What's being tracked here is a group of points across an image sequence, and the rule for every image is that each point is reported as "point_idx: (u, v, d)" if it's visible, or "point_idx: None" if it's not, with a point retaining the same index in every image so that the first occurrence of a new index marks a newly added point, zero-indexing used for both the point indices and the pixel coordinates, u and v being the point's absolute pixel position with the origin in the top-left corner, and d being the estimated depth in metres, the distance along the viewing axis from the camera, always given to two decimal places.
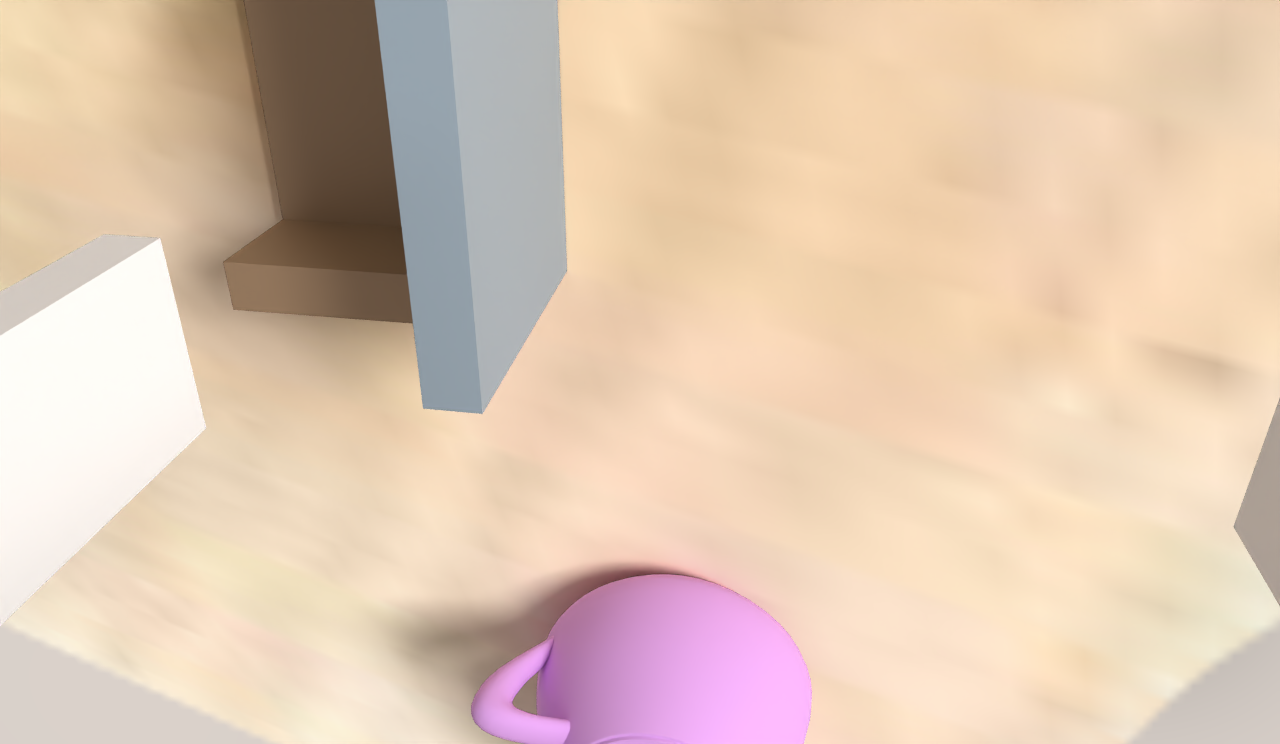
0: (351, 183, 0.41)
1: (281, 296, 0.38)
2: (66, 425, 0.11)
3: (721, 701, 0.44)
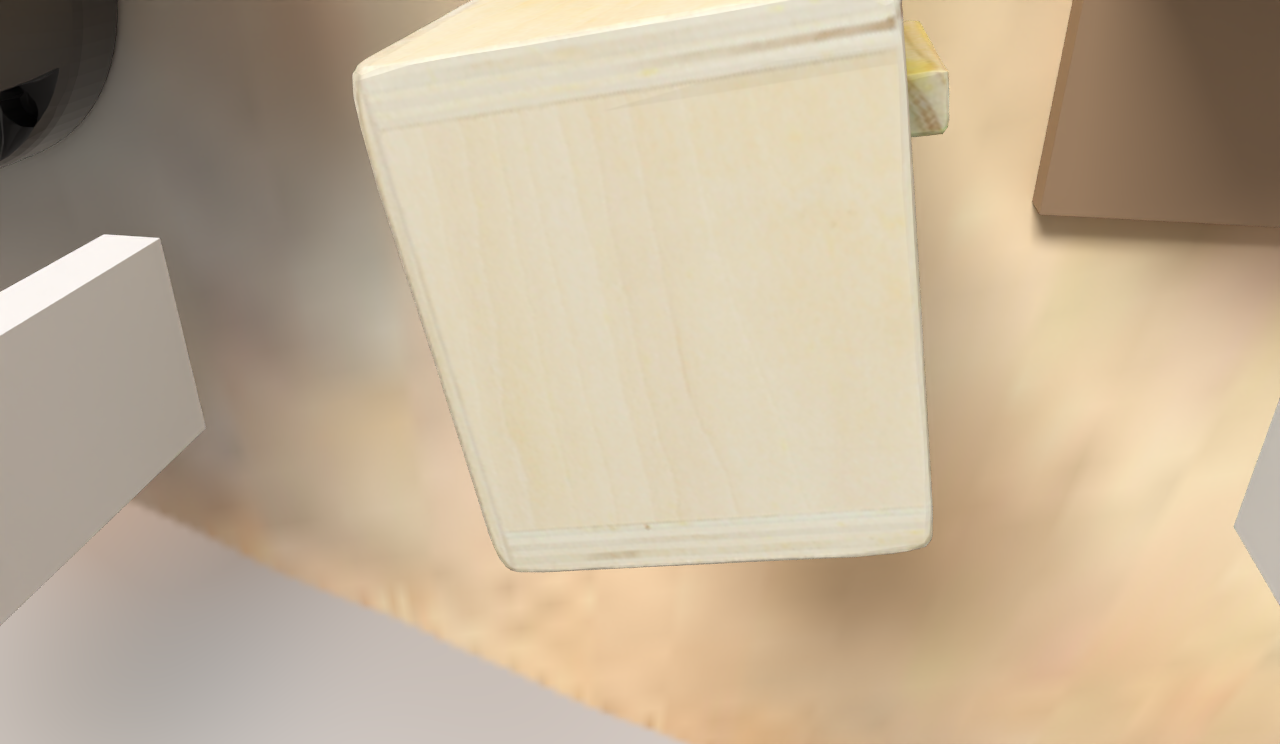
0: None
1: None
2: (66, 425, 0.11)
3: None
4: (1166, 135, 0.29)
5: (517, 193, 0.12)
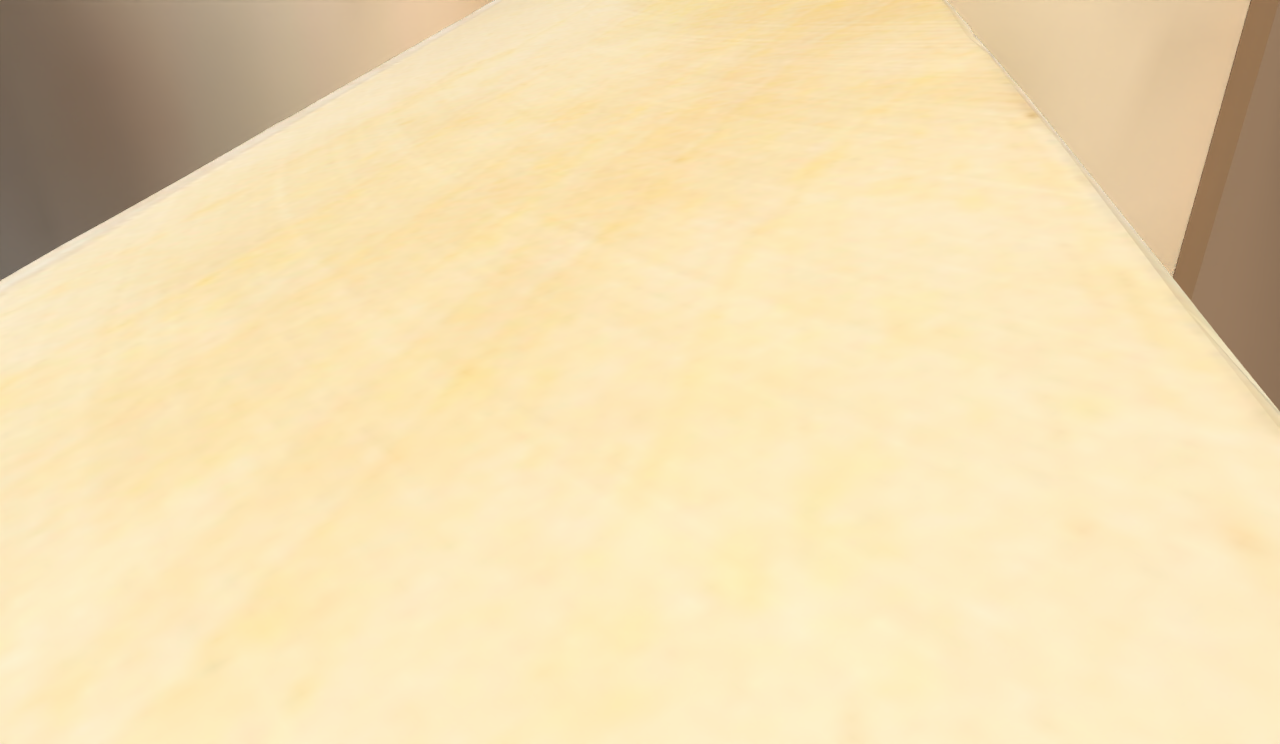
0: None
1: None
2: None
3: None
4: None
5: None
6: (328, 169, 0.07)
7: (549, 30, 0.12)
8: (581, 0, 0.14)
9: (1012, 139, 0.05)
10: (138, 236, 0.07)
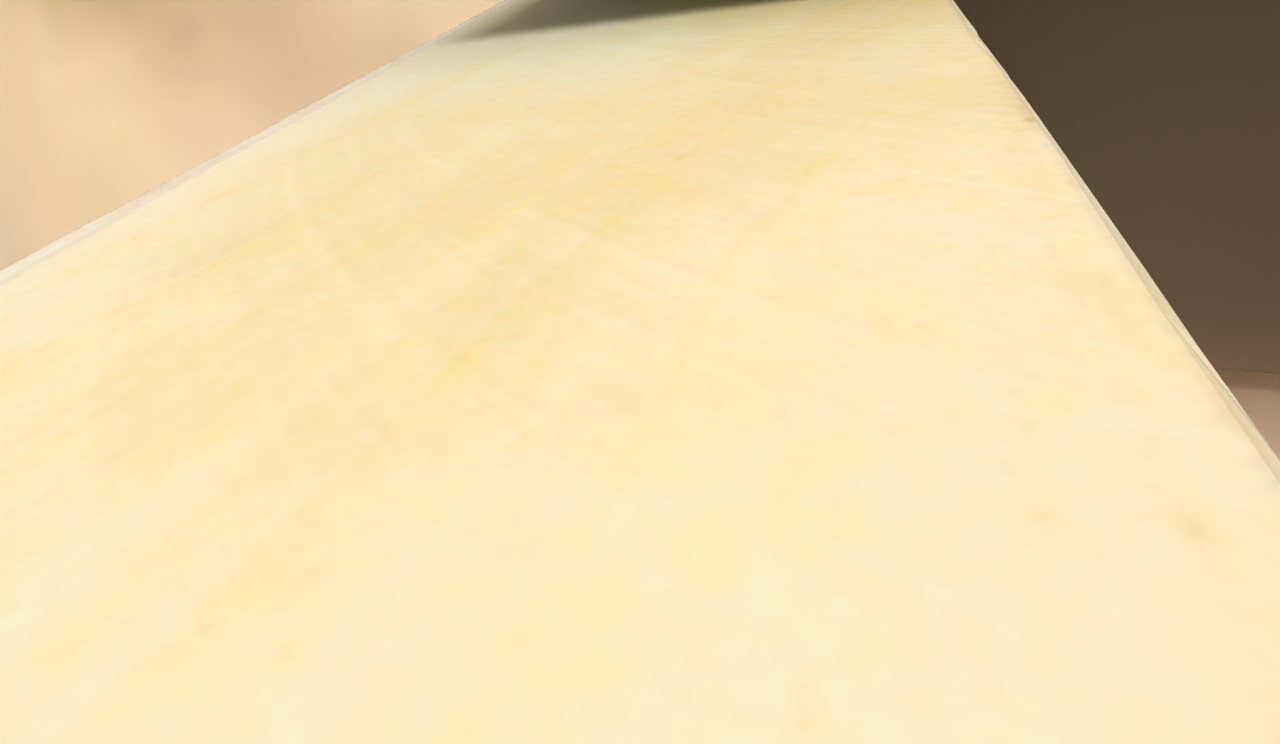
0: None
1: None
2: None
3: None
4: None
5: None
6: (339, 160, 0.08)
7: (563, 27, 0.12)
8: None
9: (1007, 142, 0.05)
10: (150, 221, 0.07)
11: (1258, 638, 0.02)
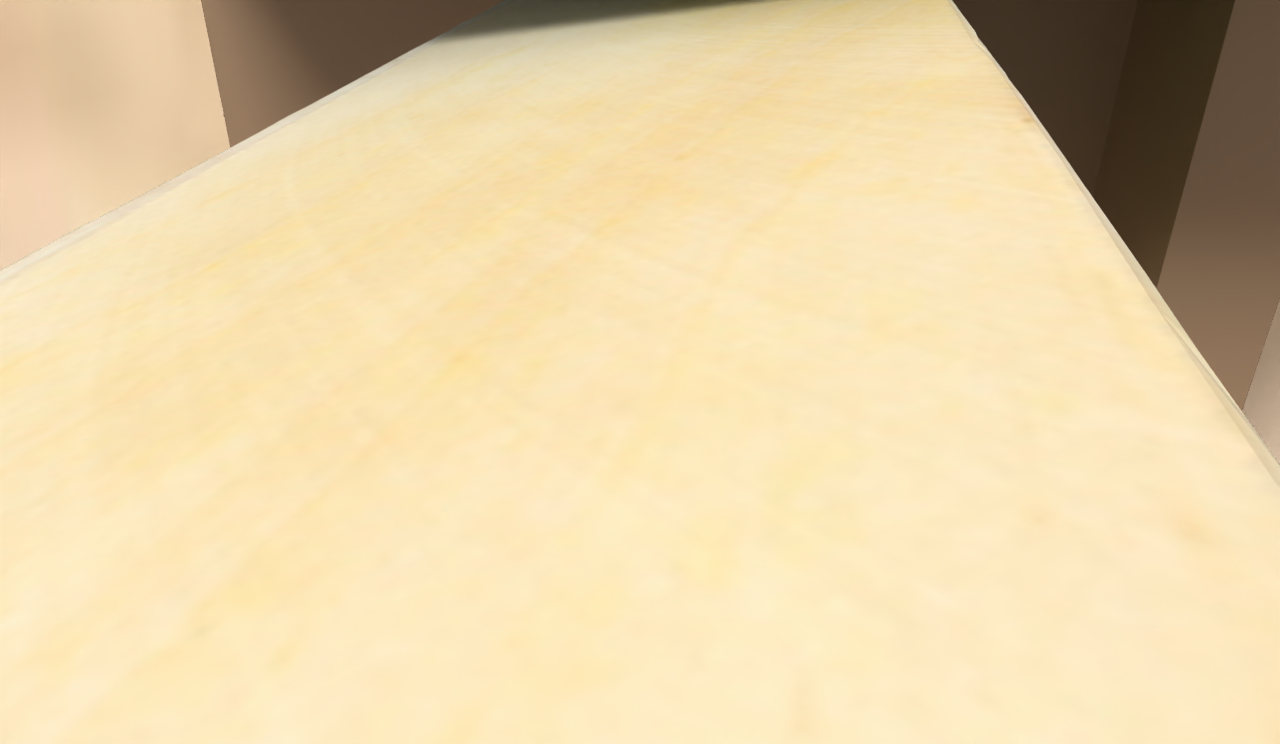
0: None
1: None
2: None
3: None
4: None
5: None
6: (338, 160, 0.08)
7: (562, 27, 0.12)
8: None
9: (1006, 142, 0.05)
10: (148, 221, 0.07)
11: (1256, 639, 0.02)
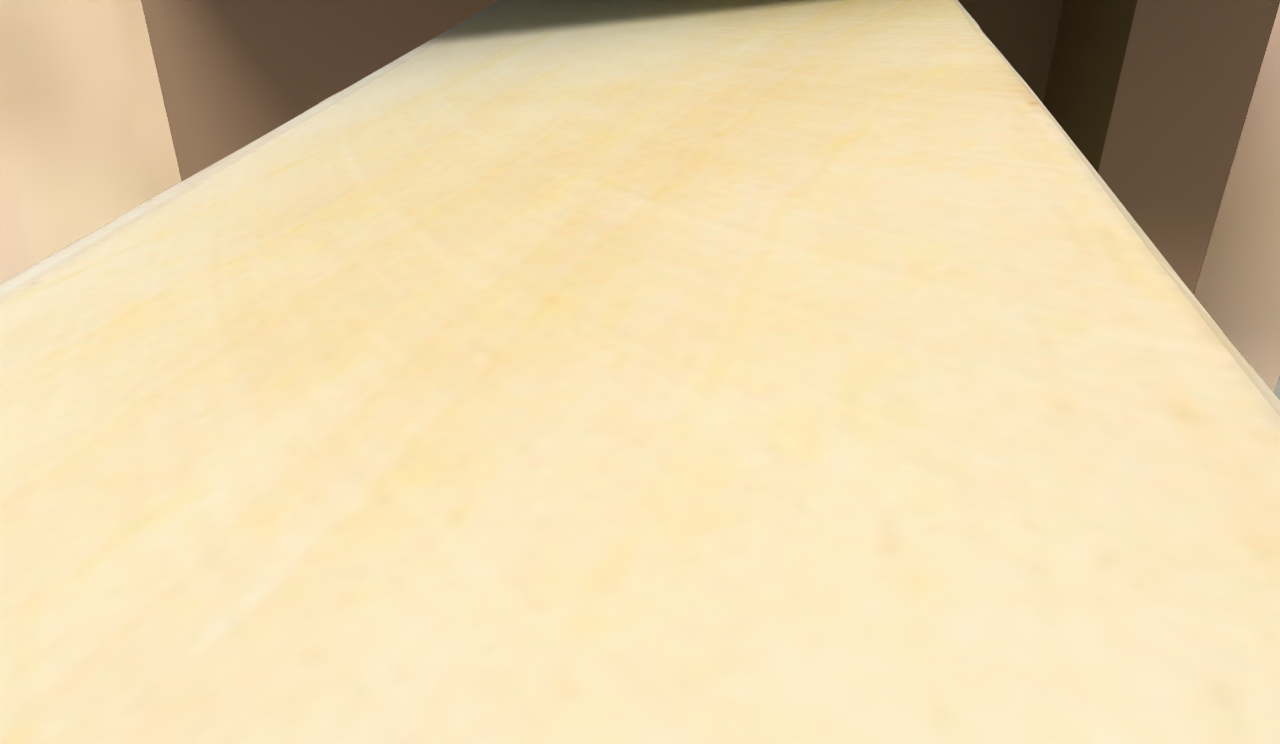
0: None
1: None
2: None
3: None
4: None
5: None
6: (389, 137, 0.08)
7: (580, 17, 0.13)
8: None
9: (1015, 122, 0.06)
10: (219, 192, 0.07)
11: (1233, 483, 0.03)
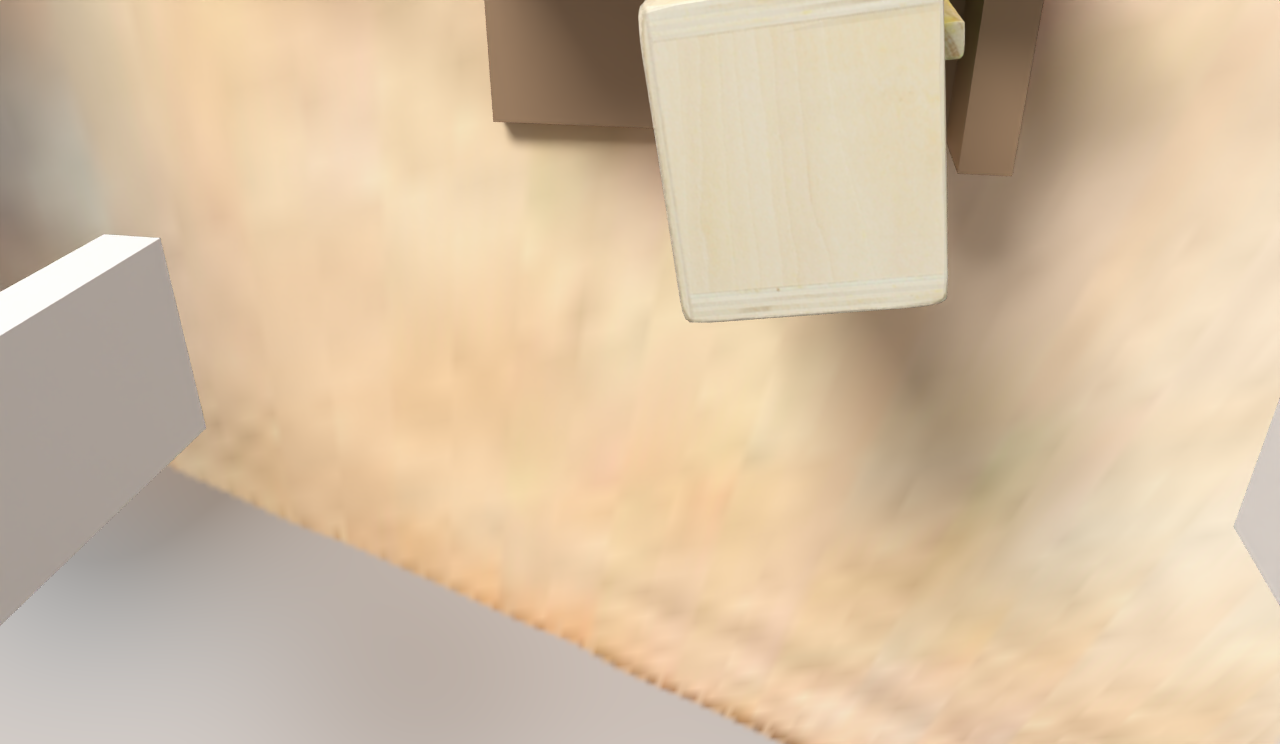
0: None
1: (1001, 118, 0.37)
2: (66, 425, 0.11)
3: None
4: (557, 64, 0.44)
5: (725, 79, 0.22)
6: None
7: None
8: None
9: None
10: None
11: None
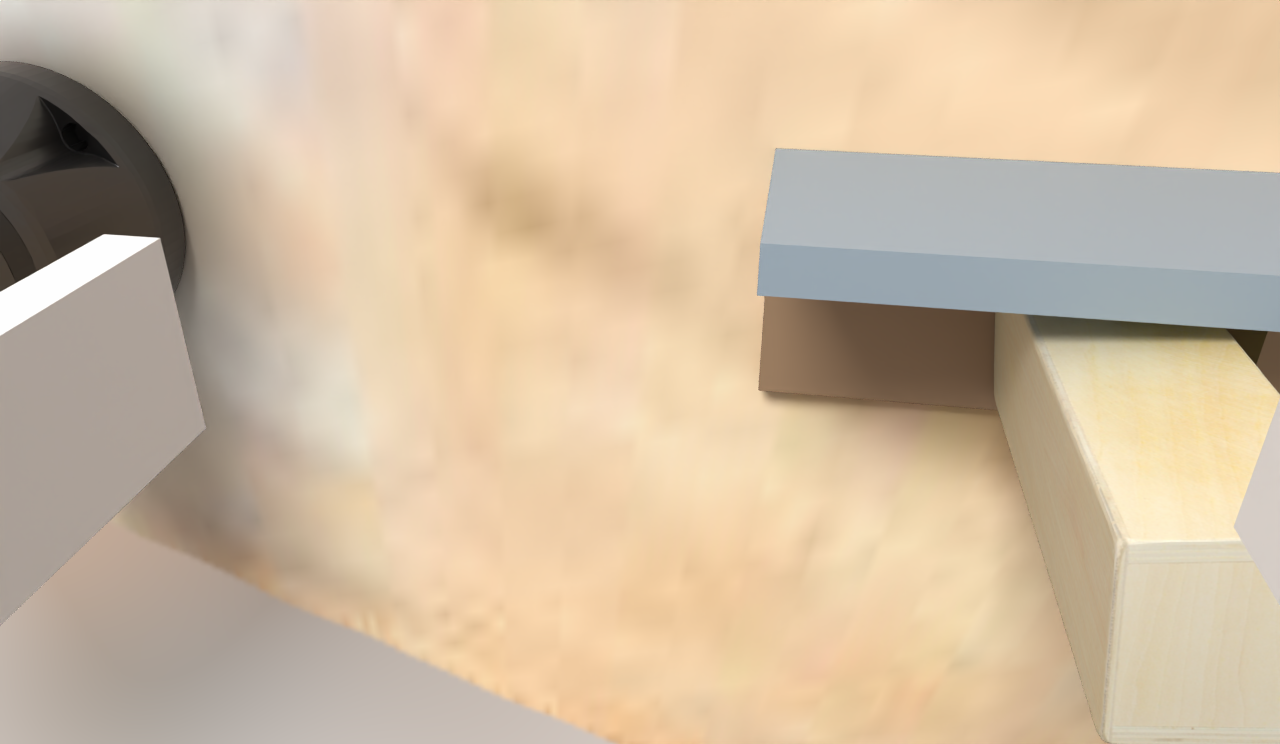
0: None
1: None
2: (66, 425, 0.11)
3: None
4: (825, 348, 0.48)
5: (1185, 591, 0.27)
6: (1115, 406, 0.32)
7: (1092, 331, 0.36)
8: None
9: None
10: (1092, 425, 0.31)
11: None
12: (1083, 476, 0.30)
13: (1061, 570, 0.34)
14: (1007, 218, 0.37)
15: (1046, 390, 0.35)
